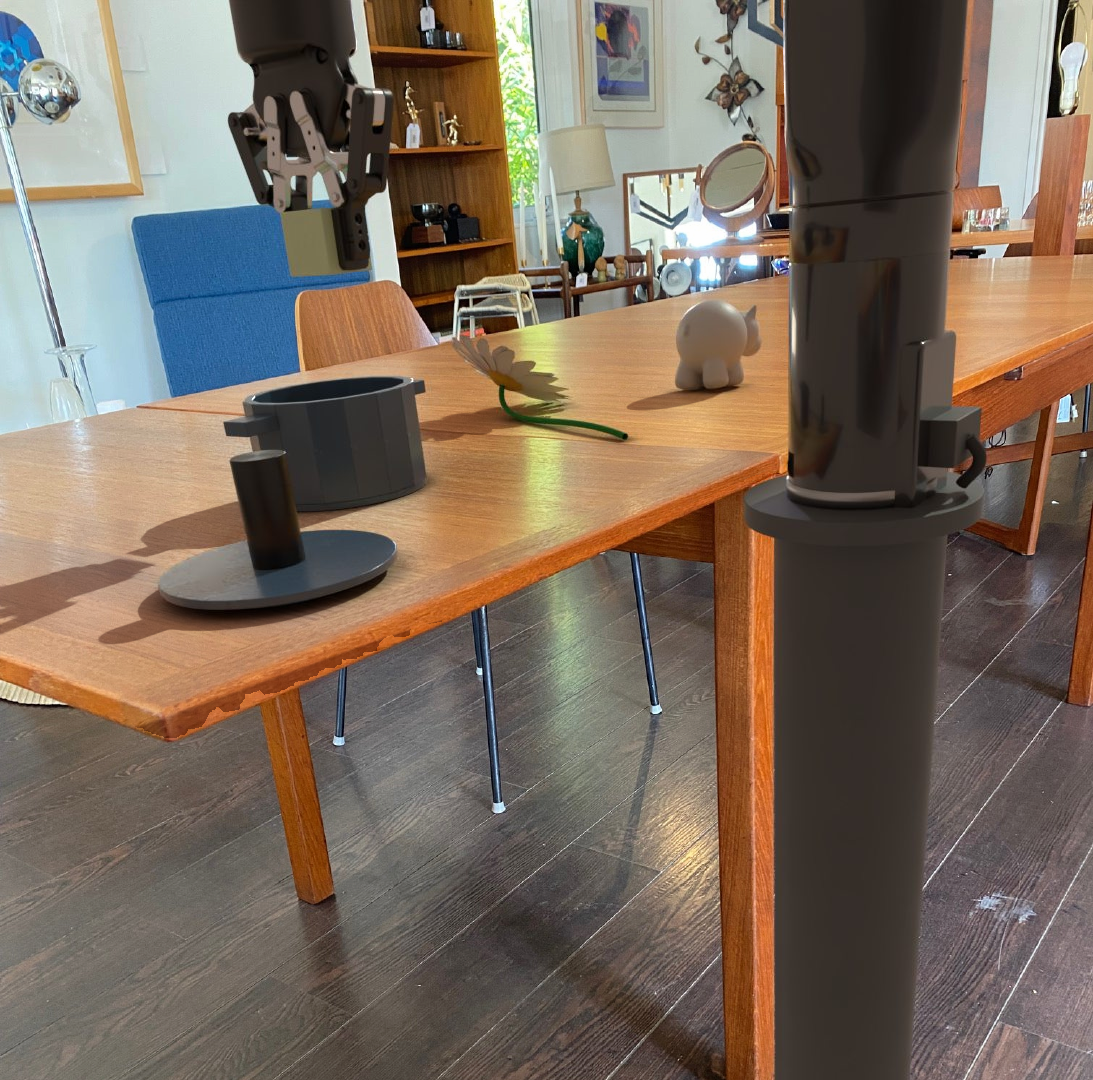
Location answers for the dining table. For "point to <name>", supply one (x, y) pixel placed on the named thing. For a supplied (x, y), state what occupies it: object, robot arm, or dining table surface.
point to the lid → (274, 550)
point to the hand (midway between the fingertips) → (330, 269)
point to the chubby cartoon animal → (715, 344)
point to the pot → (340, 438)
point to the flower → (520, 381)
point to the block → (312, 243)
